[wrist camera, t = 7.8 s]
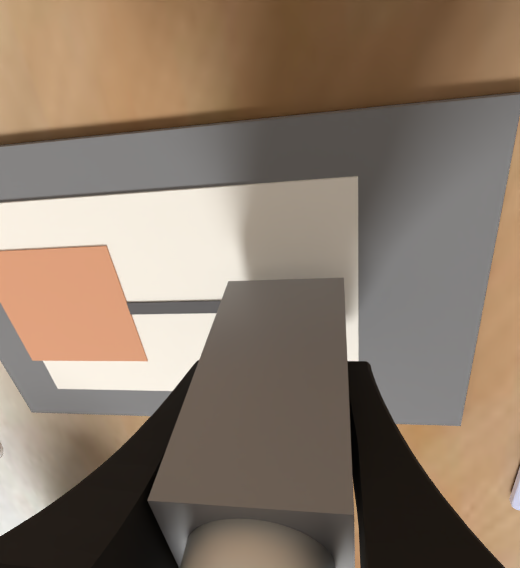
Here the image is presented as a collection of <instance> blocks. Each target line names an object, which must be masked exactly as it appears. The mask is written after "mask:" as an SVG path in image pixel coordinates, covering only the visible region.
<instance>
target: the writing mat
mask: <svg viewBox="0 0 520 568" xmlns="http://www.w3.org/2000/svg"><path fill="white" fill-rule="evenodd" d="M519 116H520V92H516V93H506V94H497V95H487V96H477V97H467V98H457V99H448V100H438V101H428V102H418V103H408V104H399V105H389V106H379V107H369V108H359V109H350V110H340V111H330V112H320V113H311V114H301V115H291V116H281V117H271V118H262V119H252V120H242V121H232V122H222V123H213V124H203V125H193V126H183V127H173V128H164V129H154V130H144V131H134V132H124V133H115V134H105V135H95V136H85V137H76V138H66V139H56V140H46V141H36V142H27V143H17V144H7V145H0V361H1V362H2V364H3V366H4V367H5V369H6V371H7V372H8V374H9V375H10V377H11V379H12V380H13V382H14V384H15V385H16V387H17V389H18V390H19V392H20V394H21V395H22V397H23V399H24V400H25V402H26V403H27V405H28V407H29V408H30V410H31V412H37V413H68V414H100V415H132V416H152V415H153V413H154V412H155V411H156V410H157V409H158V408H159V407H160V405H161V404H162V403H163V402H164V401H165V399H166V398H167V397H168V396H169V395H170V394H171V392H172V391H173V390H174V389H175V387H176V386H177V385H178V384H179V382H180V381H181V380H182V379H183V377H184V376H185V375H186V374H187V372H188V371H189V370H190V369H191V367H192V366H193V365H194V364H195V362H196V361H197V360H199V359H200V357H201V354H202V351H203V348H204V346H205V343H206V340H207V338H208V335H209V332H210V329H211V327H212V324H213V321H214V319H215V316H216V313H217V310H218V308H219V305H220V302H221V300H222V297H223V294H224V291H225V289H226V286H227V283H228V281H250V280H282V279H314V278H344V292H345V315H346V339H347V361H367V362H368V363H369V364H370V365H371V369H372V372H373V376H374V379H375V381H376V384H377V386H378V389H379V391H380V393H381V396H382V398H383V400H384V402H385V404H386V406H387V408H388V410H389V412H390V414H391V416H392V418H393V420H394V422H395V424H416V425H448V426H461V420H462V415H463V410H464V405H465V399H466V394H467V389H468V384H469V378H470V373H471V368H472V363H473V357H474V352H475V347H476V342H477V336H478V331H479V326H480V321H481V315H482V310H483V305H484V300H485V294H486V289H487V284H488V279H489V273H490V268H491V263H492V258H493V252H494V247H495V242H496V237H497V231H498V226H499V221H500V216H501V210H502V205H503V200H504V195H505V189H506V184H507V179H508V174H509V168H510V163H511V158H512V153H513V147H514V142H515V137H516V132H517V126H518V121H519Z"/></svg>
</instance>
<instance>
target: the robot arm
mask: <svg viewBox="0 0 520 568" xmlns="http://www.w3.org/2000/svg"><path fill="white" fill-rule="evenodd" d="M198 362H199V360H197V361H196V362H195V364H194V365H193V366H192V367H191V369H190V370H189V371H188V372H187V374H186V375H185V376H184V377H183V379H182V380H181V381H180V382H179V384H178V385H177V386H176V387H175V389H174V390H173V391H172V392H171V394H170V395H169V396H168V397H167V398H166V399H165V401H164V402H163V403H162V404H161V405H160V407H159V408H158V409H157V410H156V411H155V412H154V413H153V415H152V416H151V417H150V418H149V419H148V420H147V421H146V422H145V423H144V424H143V425H142V426H141V428H140V429H139V430H138V431H137V432H136V433H135V434H134V435H133V436H132V437H131V438H130V439H129V440H128V441H127V442H126V443H125V444H124V445H123V446H122V447H121V448H120V449H119V450H118V451H117V452H115V453H114V454H113V455H112V456H111V457H110V458H109V459H108V460H107V461H106V462H104V463H103V464H102V465H101V466H100V467H98V468H97V469H96V470H95V471H94V472H92V473H91V474H90V475H89V476H87V477H86V478H85V479H84V480H83V481H81V482H80V483H79V484H78V485H76V486H75V487H74V488H72V489H71V490H70V491H68V492H67V493H66V494H64V495H63V496H62V497H60V498H59V499H57V500H56V501H54V502H53V503H52V504H50V505H49V506H47V507H46V508H44V509H43V510H41V511H40V512H38V513H37V514H35V515H34V516H32V517H31V518H29V519H28V520H26V521H24V522H23V523H21V524H20V525H18V526H16V527H15V528H13V529H12V530H10V531H8V532H7V533H5V534H4V535H2V536H0V568H179V567H178V564H177V562H176V560H175V558H174V556H173V554H172V552H171V550H170V547H169V545H168V543H167V541H166V539H165V537H164V535H163V533H162V530H161V528H160V526H159V524H158V522H157V520H156V518H155V516H154V514H153V511H152V509H151V507H150V505H149V503H148V501H147V500H148V497H149V495H150V492H151V489H152V487H153V484H154V481H155V478H156V476H157V473H158V470H159V468H160V465H161V462H162V460H163V457H164V454H165V451H166V449H167V446H168V443H169V441H170V438H171V435H172V432H173V430H174V427H175V424H176V422H177V419H178V416H179V413H180V411H181V408H182V405H183V403H184V400H185V397H186V394H187V392H188V389H189V386H190V384H191V381H192V378H193V376H194V373H195V370H196V367H197V365H198ZM347 362H348V385H349V408H350V432H351V455H352V476H353V484H354V491H355V499H356V507H357V514H358V525H359V542H360V564H361V568H505V567H504V566H503V565H502V564H501V563H500V562H499V561H498V560H497V559H496V558H495V557H494V555H493V554H492V553H491V552H490V551H489V550H488V549H487V548H486V547H485V546H484V544H483V543H482V542H481V541H480V540H479V539H478V538H477V537H476V535H475V534H474V533H473V532H472V531H471V530H470V529H469V528H468V526H467V525H466V524H465V523H464V521H463V520H462V519H461V518H460V516H459V515H458V514H457V513H456V512H455V510H454V509H453V508H452V507H451V505H450V504H449V503H448V502H447V501H446V499H445V498H444V497H443V496H442V494H441V493H440V492H439V490H438V489H437V487H436V486H435V485H434V483H433V482H432V481H431V479H430V478H429V477H428V475H427V474H426V472H425V471H424V469H423V468H422V466H421V465H420V463H419V462H418V460H417V459H416V457H415V456H414V454H413V453H412V451H411V450H410V448H409V446H408V445H407V443H406V441H405V440H404V438H403V436H402V435H401V433H400V431H399V429H398V427H397V426H396V424H395V422H394V420H393V418H392V416H391V414H390V412H389V410H388V408H387V406H386V404H385V402H384V400H383V398H382V396H381V393H380V391H379V389H378V386H377V384H376V381H375V379H374V376H373V372H372V369H371V365H370V364H369V363H368V362H367V361H347ZM510 503H511V505H512V507H513V508H514V509H517V510H520V468H519V471H518V474H517V477H516V480H515V483H514V486H513V489H512V492H511V495H510Z"/></svg>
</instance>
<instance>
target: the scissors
mask: <svg viewBox="0 0 520 568" xmlns="http://www.w3.org/2000/svg"><path fill="white" fill-rule="evenodd" d="M2 455H3V447H2V444H1V443H0V458H1V457H2Z"/></svg>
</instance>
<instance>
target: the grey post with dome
mask: <svg viewBox="0 0 520 568" xmlns="http://www.w3.org/2000/svg"><path fill="white" fill-rule="evenodd" d="M147 501H148V503H149V505H150V507H151V509H152V511H153V514H154V516H155V518H156V520H157V522H158V524H159V526H160V528H161V530H162V533H163V535H164V537H165V539H166V541H167V543H168V545H169V547H170V550H171V552H172V554H173V556H174V558H175V560H176V562H177V564H178V567H179V568H355V547H354V502H353V478H352V455H351V432H350V408H349V385H348V362H347V339H346V315H345V292H344V278H314V279H282V280H250V281H228V283H227V286H226V289H225V291H224V294H223V297H222V300H221V302H220V305H219V308H218V310H217V313H216V316H215V319H214V321H213V324H212V327H211V329H210V332H209V335H208V338H207V340H206V343H205V346H204V348H203V351H202V354H201V357H200V359H199V362H198V365H197V367H196V370H195V373H194V376H193V378H192V381H191V384H190V386H189V389H188V392H187V394H186V397H185V400H184V403H183V405H182V408H181V411H180V413H179V416H178V419H177V422H176V424H175V427H174V430H173V432H172V435H171V438H170V441H169V443H168V446H167V449H166V451H165V454H164V457H163V460H162V462H161V465H160V468H159V470H158V473H157V476H156V478H155V481H154V484H153V487H152V489H151V492H150V495H149V497H148V500H147Z"/></svg>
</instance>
